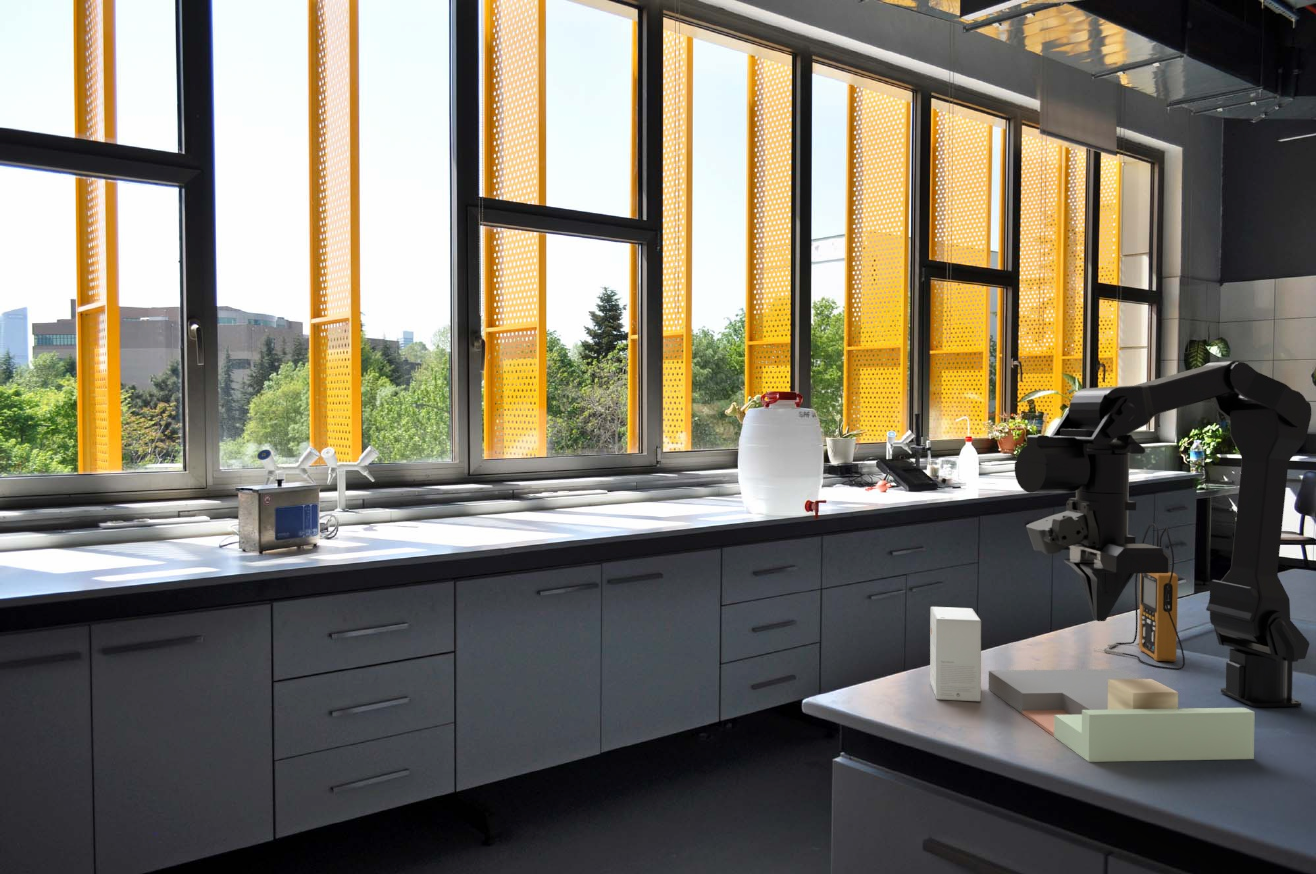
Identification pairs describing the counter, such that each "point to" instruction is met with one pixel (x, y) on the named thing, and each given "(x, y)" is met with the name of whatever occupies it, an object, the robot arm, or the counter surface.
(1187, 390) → the robot arm
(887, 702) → the counter surface
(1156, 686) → the birch block
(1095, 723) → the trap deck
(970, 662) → the small box
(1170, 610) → the multimeter
